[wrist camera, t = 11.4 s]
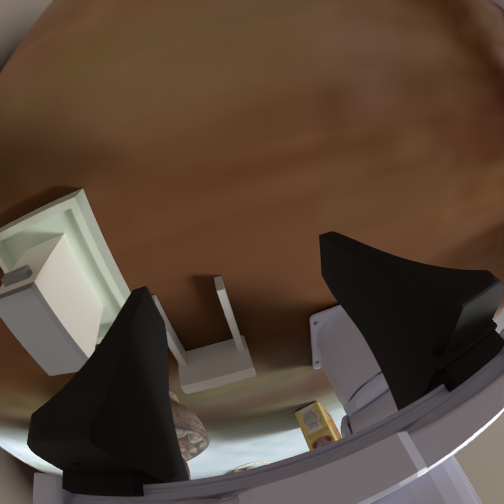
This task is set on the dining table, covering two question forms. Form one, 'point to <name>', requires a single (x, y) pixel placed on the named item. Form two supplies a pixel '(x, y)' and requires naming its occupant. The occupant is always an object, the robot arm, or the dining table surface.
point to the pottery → (188, 431)
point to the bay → (211, 354)
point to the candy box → (317, 426)
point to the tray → (81, 241)
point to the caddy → (51, 307)
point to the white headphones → (250, 467)
